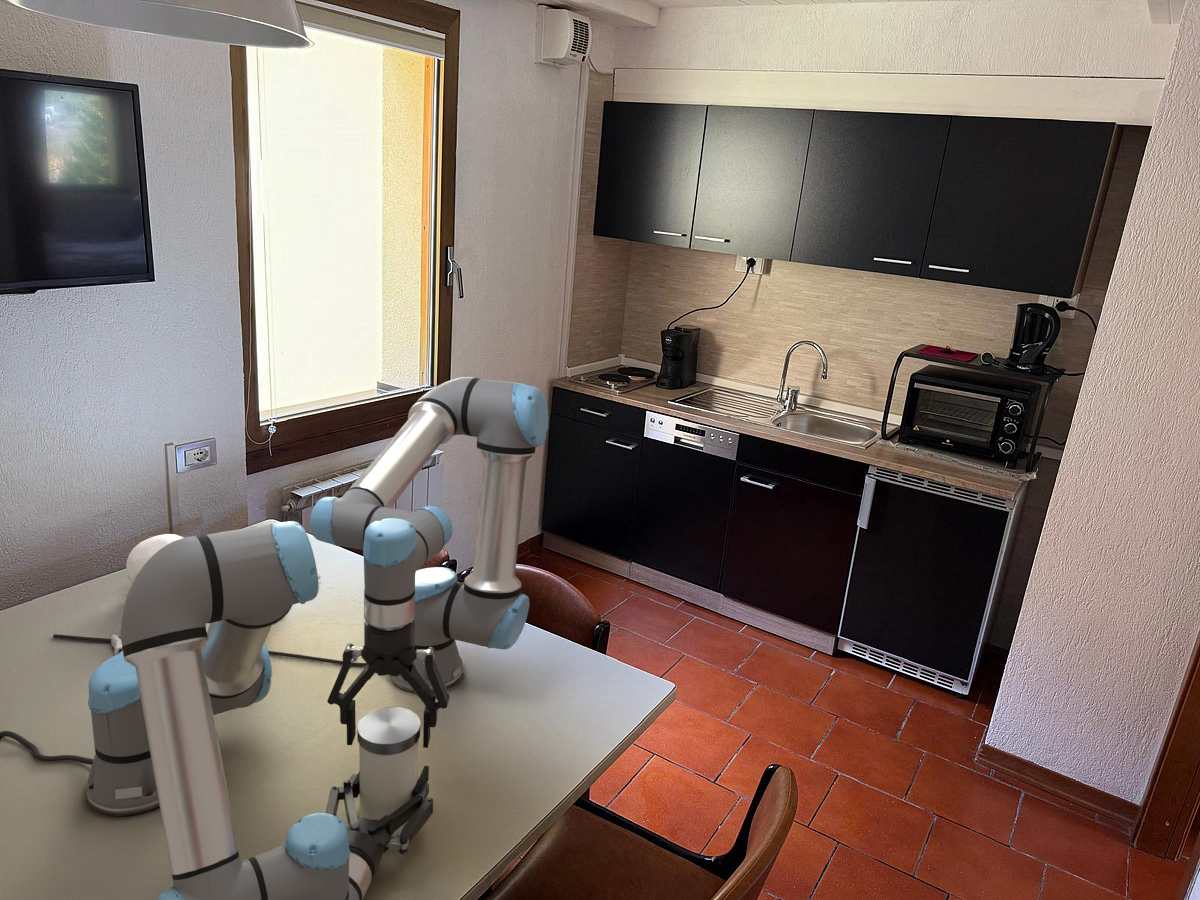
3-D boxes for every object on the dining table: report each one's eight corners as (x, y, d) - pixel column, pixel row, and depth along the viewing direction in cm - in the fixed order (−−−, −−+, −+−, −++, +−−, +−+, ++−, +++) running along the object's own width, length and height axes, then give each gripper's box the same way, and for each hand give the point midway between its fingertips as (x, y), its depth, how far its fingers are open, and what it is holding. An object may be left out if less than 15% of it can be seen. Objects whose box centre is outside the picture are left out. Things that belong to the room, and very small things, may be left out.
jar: (377, 846, 135) (377, 753, 130) (349, 814, 141) (348, 724, 136) (427, 821, 141) (429, 731, 136) (399, 791, 147) (400, 704, 142)
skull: (191, 620, 195) (189, 556, 191) (114, 601, 201) (110, 538, 197) (232, 597, 208) (230, 537, 203) (157, 580, 213) (154, 520, 209)
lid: (432, 729, 139) (432, 718, 138) (394, 762, 130) (394, 751, 130) (384, 710, 143) (384, 700, 142) (344, 741, 134) (343, 731, 134)
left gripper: (274, 880, 124) (334, 779, 145) (422, 901, 123) (461, 795, 144) (272, 838, 122) (333, 741, 143) (423, 858, 120) (462, 758, 142)
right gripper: (469, 611, 135) (465, 729, 141) (317, 604, 133) (320, 724, 140) (464, 635, 128) (460, 758, 134) (303, 628, 126) (307, 753, 132)
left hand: (397, 768), depth 144 cm, fingers closed on jar, 9 cm apart
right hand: (389, 741), depth 137 cm, fingers open, 11 cm apart
